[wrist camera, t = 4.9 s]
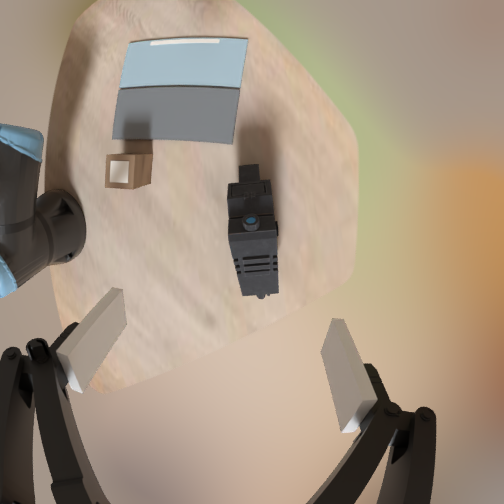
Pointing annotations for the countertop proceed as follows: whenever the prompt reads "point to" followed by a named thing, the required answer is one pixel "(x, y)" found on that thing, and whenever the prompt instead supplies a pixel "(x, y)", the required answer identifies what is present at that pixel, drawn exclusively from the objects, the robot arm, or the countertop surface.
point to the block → (128, 170)
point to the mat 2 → (176, 114)
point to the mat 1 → (185, 62)
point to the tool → (253, 233)
